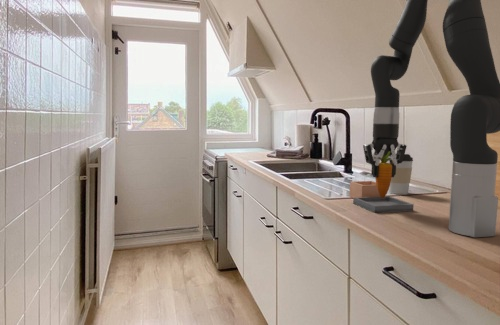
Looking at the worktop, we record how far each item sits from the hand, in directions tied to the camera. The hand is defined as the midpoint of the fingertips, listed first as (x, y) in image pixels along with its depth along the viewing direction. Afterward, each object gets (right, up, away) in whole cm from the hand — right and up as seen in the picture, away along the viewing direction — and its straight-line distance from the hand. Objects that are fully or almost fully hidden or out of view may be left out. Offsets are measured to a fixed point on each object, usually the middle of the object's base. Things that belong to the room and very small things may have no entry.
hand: (383, 176), depth 120 cm
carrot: (0, -7, +1) cm, 7 cm away
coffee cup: (+15, -7, +26) cm, 31 cm away
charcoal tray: (0, -10, +1) cm, 10 cm away
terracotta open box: (-1, -8, +14) cm, 16 cm away
